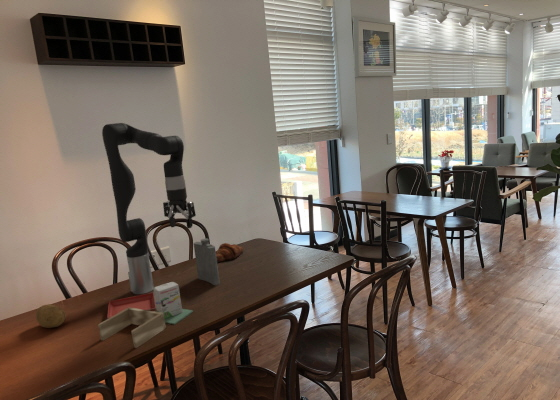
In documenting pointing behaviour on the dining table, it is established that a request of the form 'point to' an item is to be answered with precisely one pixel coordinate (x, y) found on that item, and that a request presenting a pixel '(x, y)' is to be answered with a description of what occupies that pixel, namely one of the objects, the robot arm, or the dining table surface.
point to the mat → (178, 317)
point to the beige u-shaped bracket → (146, 319)
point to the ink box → (168, 299)
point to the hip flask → (206, 262)
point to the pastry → (228, 252)
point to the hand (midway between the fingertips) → (181, 227)
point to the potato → (50, 316)
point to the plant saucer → (132, 304)
